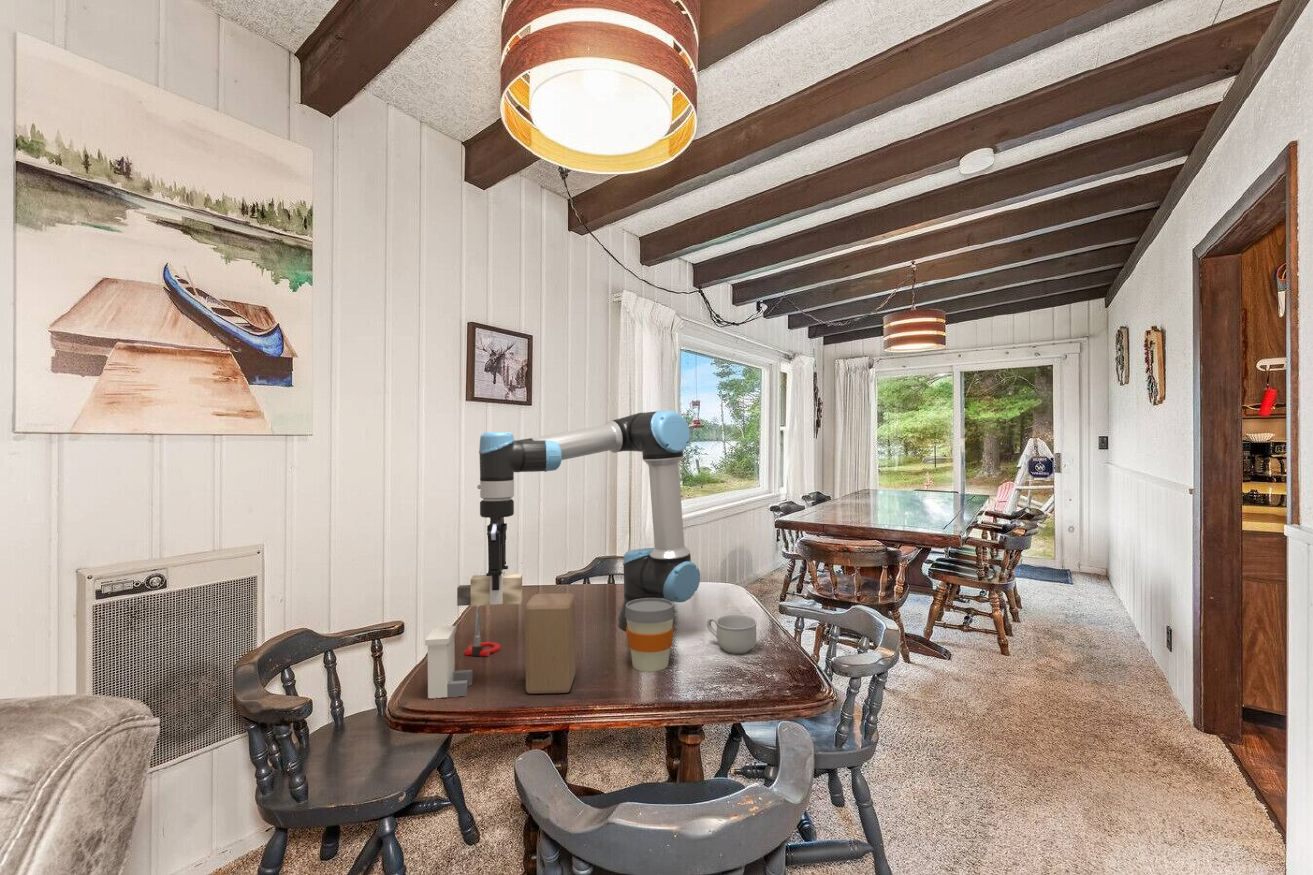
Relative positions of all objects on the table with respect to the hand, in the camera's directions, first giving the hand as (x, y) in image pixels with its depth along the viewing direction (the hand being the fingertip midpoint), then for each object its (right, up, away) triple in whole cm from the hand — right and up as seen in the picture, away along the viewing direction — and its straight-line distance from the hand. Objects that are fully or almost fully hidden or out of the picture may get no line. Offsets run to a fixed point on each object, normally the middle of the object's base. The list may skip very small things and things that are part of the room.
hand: (497, 600), depth 129 cm
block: (+12, -20, 0) cm, 23 cm away
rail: (-2, 0, 0) cm, 2 cm away
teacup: (+57, -19, +22) cm, 64 cm away
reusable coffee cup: (+35, -20, +12) cm, 42 cm away
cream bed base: (-10, -20, -2) cm, 22 cm away
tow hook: (-10, -20, +23) cm, 32 cm away
